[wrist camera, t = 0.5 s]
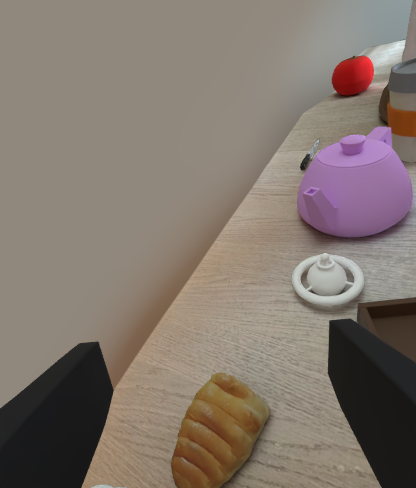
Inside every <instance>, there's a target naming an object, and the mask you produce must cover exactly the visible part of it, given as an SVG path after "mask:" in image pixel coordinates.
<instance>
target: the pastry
mask: <svg viewBox="0 0 416 488" xmlns="http://www.w3.org/2000/svg"><path fill="white" fill-rule="evenodd" d="M269 416H270V409H269V406H268V405H267V404H266V402H265V401H264V400H263V399H262V398H261V397H260V396H258V395H256V394H255V393H254V392H253V391H252V390H251V389H250V388H249V387H248V386H246V385H245V384H243V383H242V382H241V381H239V380H237V379H236V378H235V377H233V376H230V375H226V374H225V373H216V374H214V375H212V377H211V379H210V380H209V381H208V382H207V383H206V384H205V385H204V386H203V387H202V388H201V389H200V390H199V391H198V392H197V393H196V395H195V397H194V399H193V401H192V404H191V405H190V406H189V408H188V410H187V412H186V415H185V417H184V419H183V421H182V423H181V429H180V431H179V433H178V441H177V445H176V447H175V450H174V454H173V457H172V463H171V468H172V473H173V478H174V482H175V485H176V486H177V488H220V487H221V486H222V484H224V483H225V482H227V481H229V480H230V479H231V477H232V476H233V474H234V473H235V472H236V471H237V470H238V469H240V468H241V467H242V466H243V463H244V462H245V461H246V460H247V459H248V458H249V456H250V454H251V451H252V447H253V446H254V443H255V441H256V440H257V438H258V437H259V435H260V433H261V431H262V429H263V427H264V423H265V422H266V421H267V419H268V418H269Z"/></svg>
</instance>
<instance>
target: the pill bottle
mask: <svg viewBox="0 0 416 488" xmlns="http://www.w3.org/2000/svg"><path fill="white" fill-rule="evenodd" d="M92 488H127V487H113V486H110V485H106V484H102V485H97V486H94V487H92Z"/></svg>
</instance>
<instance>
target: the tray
mask: <svg viewBox="0 0 416 488" xmlns="http://www.w3.org/2000/svg"><path fill="white" fill-rule="evenodd" d="M357 322H358V324H359V325H361V326H362V327H364V328H365V329H367V330H368V331H370V332H371V333H373V334H374V335H375V336H377V337H378V338H380V339H381V340H383V341H384V342H386V343H387V344H389V345H390V346H392V347H393V348H394V349H396V350H397V351H399V352H400V353H402V354H403V355H405V356H406V357H408V358H409V359H411V360H412V361H414V362H415V363H416V297H415V298H405V299H396V300H386V301H376V302H367V303H358V311H357Z"/></svg>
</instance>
